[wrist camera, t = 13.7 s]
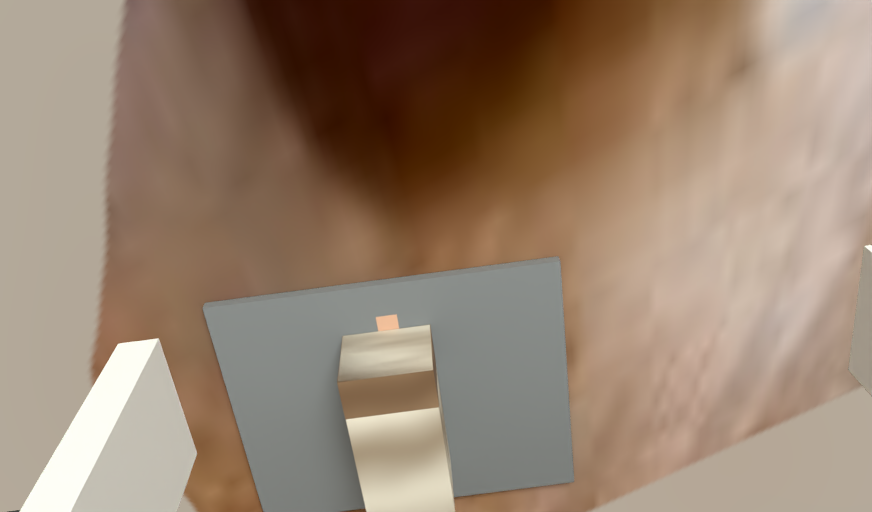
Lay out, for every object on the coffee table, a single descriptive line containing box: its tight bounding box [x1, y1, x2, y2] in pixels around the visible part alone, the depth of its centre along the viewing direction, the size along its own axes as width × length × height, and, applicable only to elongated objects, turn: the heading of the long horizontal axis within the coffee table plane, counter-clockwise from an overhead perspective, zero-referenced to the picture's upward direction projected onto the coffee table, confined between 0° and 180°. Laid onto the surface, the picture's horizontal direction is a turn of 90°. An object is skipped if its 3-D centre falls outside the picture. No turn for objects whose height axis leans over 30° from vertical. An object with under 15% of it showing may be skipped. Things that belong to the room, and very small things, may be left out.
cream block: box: [337, 325, 455, 512], centre depth 45 cm, size 10×5×4 cm, turn 7°
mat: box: [203, 257, 574, 512], centre depth 48 cm, size 20×16×1 cm
